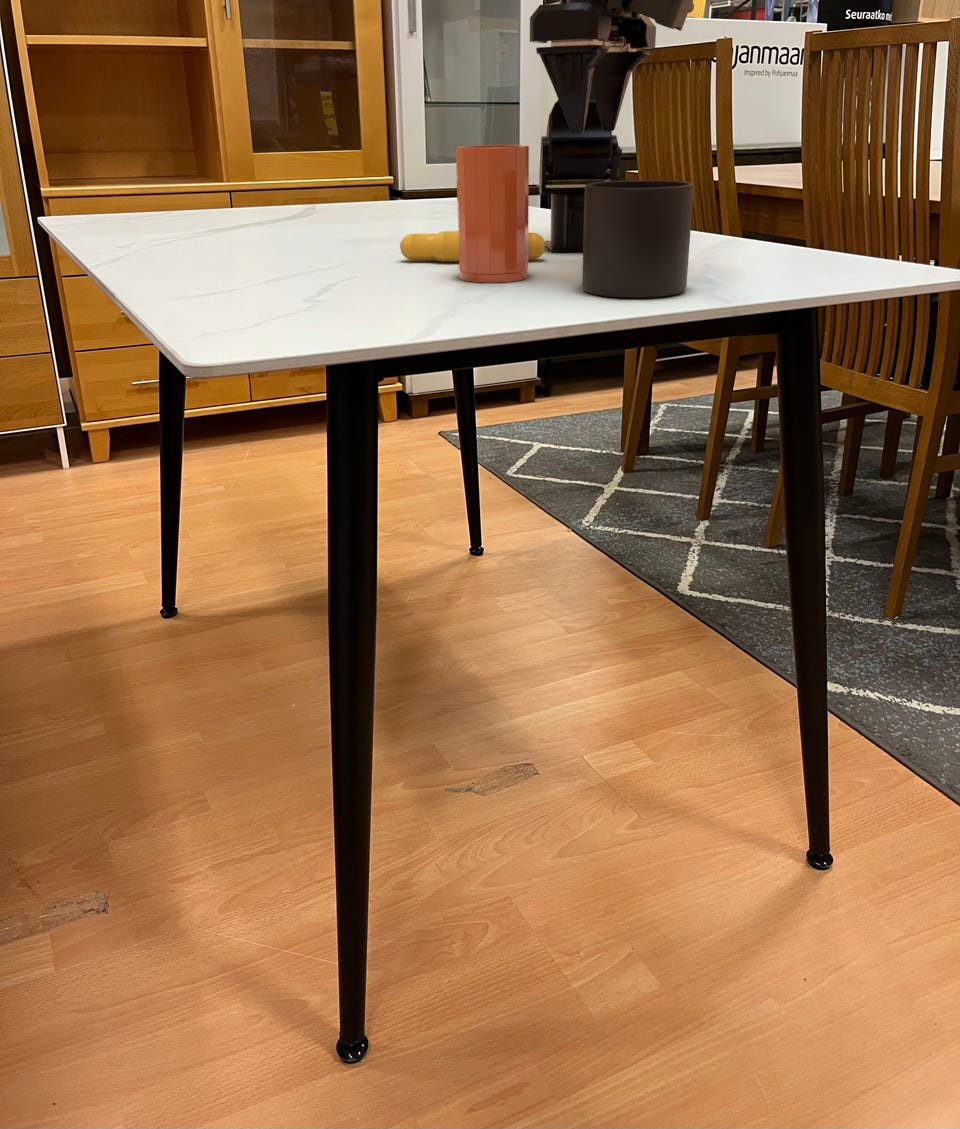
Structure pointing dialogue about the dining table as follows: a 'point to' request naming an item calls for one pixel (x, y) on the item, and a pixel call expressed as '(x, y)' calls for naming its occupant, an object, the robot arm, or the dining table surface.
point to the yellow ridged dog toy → (452, 246)
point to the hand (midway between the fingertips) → (593, 132)
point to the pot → (493, 212)
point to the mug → (636, 238)
